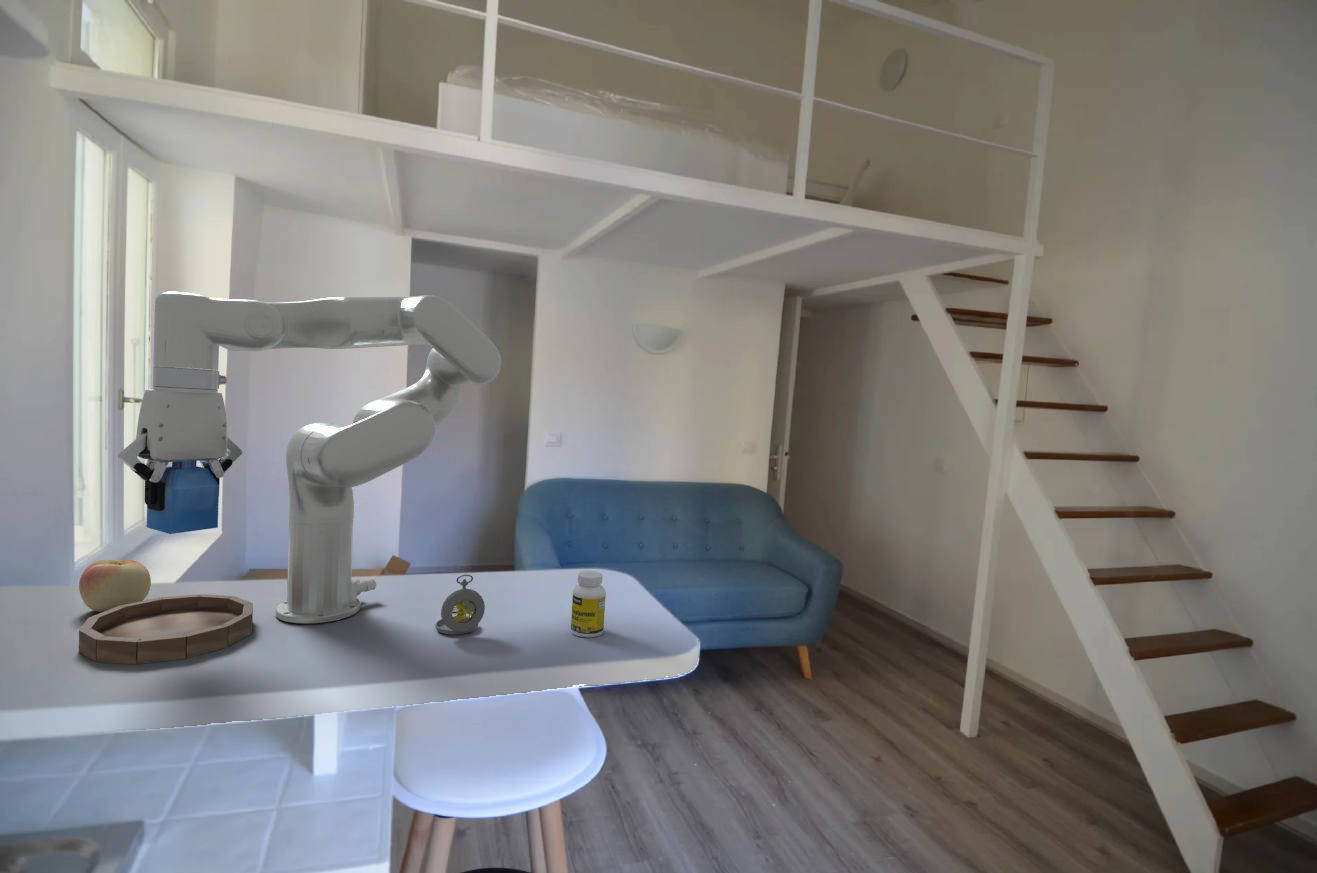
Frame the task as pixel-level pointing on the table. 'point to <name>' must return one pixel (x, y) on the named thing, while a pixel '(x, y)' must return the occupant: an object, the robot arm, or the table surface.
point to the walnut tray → (165, 628)
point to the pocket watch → (461, 611)
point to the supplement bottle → (588, 605)
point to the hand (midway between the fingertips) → (182, 505)
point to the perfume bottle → (186, 500)
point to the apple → (114, 584)
